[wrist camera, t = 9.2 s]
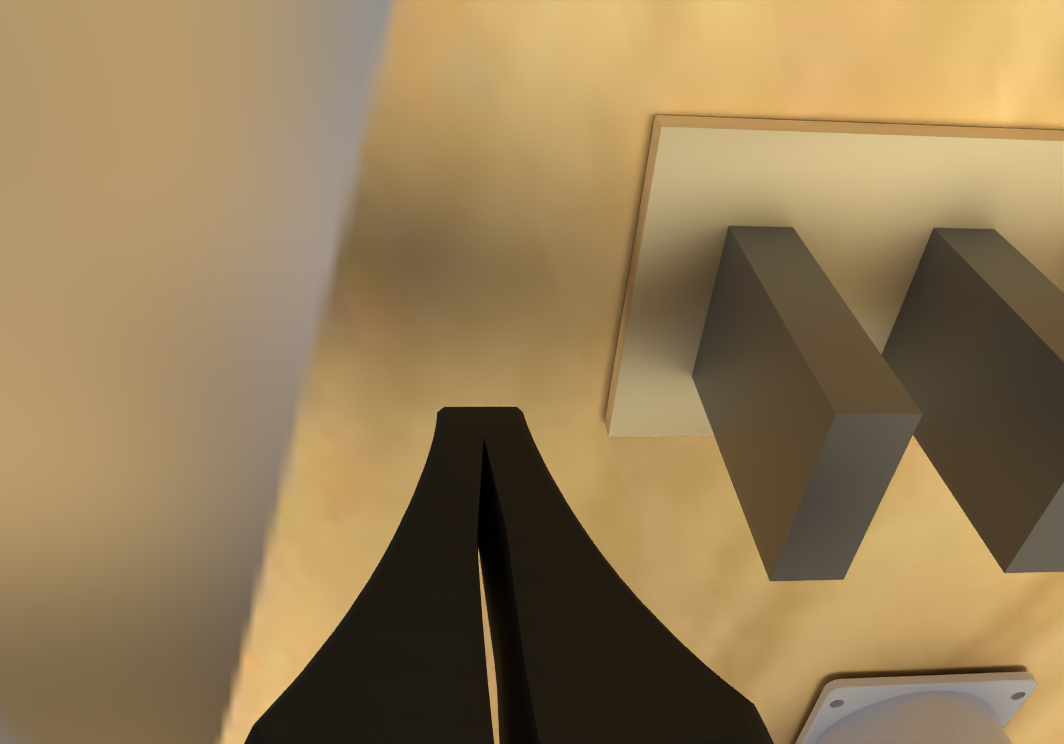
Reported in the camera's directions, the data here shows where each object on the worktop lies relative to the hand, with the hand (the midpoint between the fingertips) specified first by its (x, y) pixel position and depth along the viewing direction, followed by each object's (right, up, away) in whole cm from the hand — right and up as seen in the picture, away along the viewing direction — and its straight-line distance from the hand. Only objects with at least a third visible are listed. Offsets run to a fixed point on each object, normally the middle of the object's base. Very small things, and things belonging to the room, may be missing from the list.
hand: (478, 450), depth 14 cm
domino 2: (+10, +3, +5) cm, 12 cm away
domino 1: (+6, +3, +4) cm, 8 cm away
